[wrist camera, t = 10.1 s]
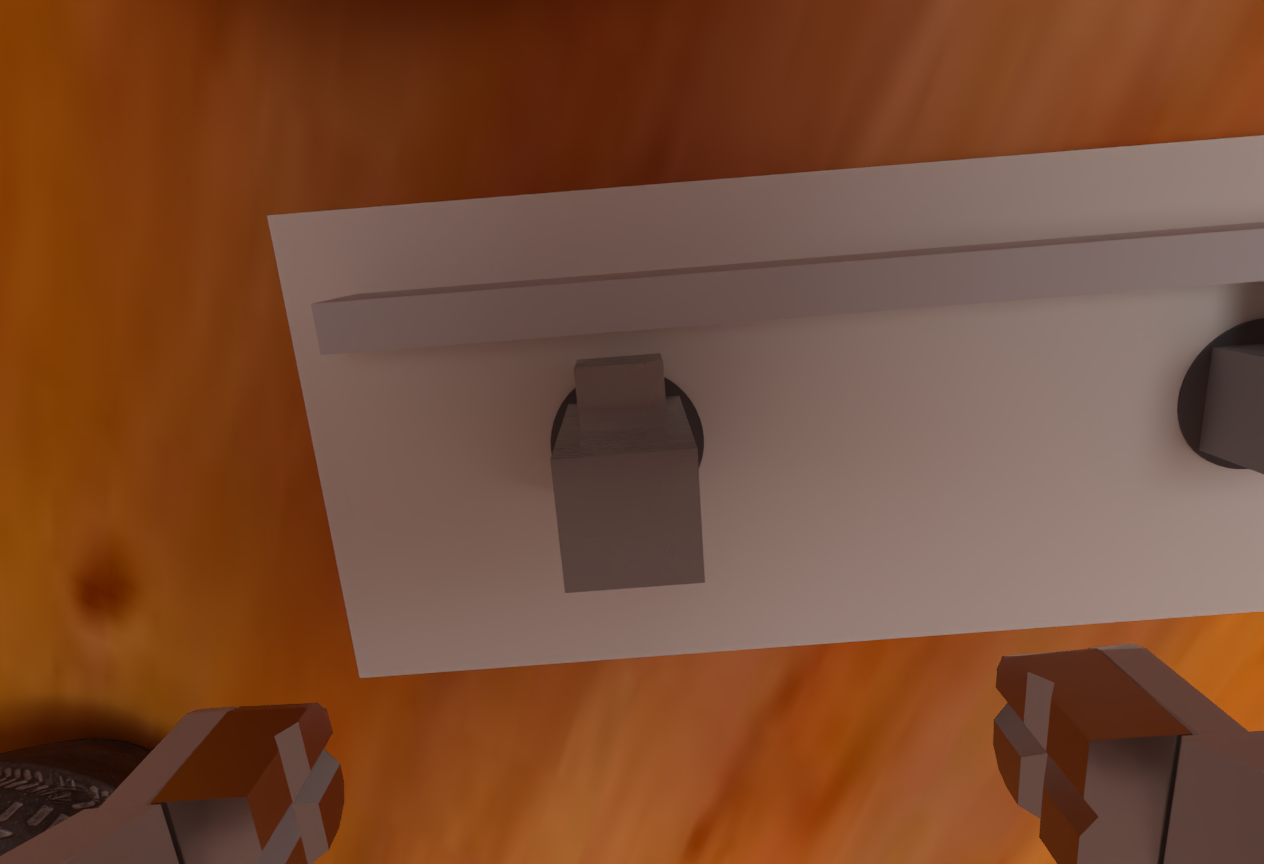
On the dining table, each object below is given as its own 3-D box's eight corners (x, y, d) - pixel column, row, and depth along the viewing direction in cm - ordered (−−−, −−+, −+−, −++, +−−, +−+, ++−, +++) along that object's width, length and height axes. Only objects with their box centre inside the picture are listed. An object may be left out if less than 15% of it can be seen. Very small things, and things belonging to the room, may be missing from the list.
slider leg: (674, 338, 20) (693, 375, 14) (684, 495, 21) (704, 582, 16) (563, 347, 20) (542, 387, 14) (579, 503, 21) (565, 593, 16)
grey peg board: (1338, 133, 21) (1681, 85, 14) (1264, 577, 24) (1507, 708, 18) (299, 217, 21) (146, 208, 14) (380, 643, 25) (289, 797, 18)
